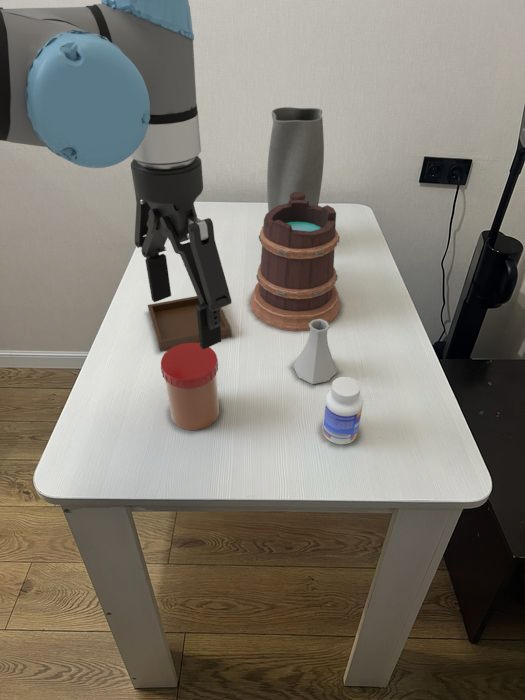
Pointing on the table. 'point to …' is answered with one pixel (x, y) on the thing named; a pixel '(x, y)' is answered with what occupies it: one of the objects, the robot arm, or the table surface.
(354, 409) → the pill bottle
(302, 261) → the mug
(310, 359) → the flask
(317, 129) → the vase
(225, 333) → the tray
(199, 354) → the lid
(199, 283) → the robot arm
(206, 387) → the jar
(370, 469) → the table surface
